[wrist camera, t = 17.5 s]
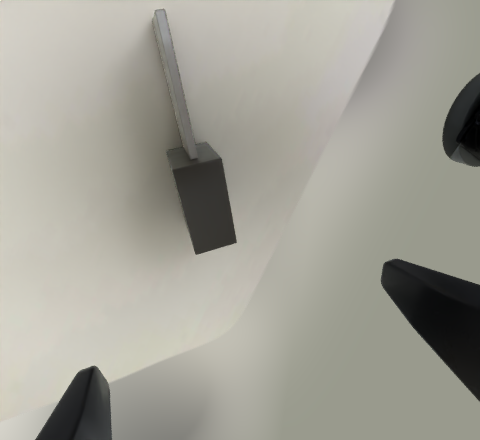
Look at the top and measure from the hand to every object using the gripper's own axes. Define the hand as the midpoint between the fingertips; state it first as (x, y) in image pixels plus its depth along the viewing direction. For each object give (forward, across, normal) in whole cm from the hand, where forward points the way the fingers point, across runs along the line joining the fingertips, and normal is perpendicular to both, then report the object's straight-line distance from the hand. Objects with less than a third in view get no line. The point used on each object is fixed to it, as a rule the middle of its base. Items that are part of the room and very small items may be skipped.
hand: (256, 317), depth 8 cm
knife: (+11, 0, -3) cm, 11 cm away
